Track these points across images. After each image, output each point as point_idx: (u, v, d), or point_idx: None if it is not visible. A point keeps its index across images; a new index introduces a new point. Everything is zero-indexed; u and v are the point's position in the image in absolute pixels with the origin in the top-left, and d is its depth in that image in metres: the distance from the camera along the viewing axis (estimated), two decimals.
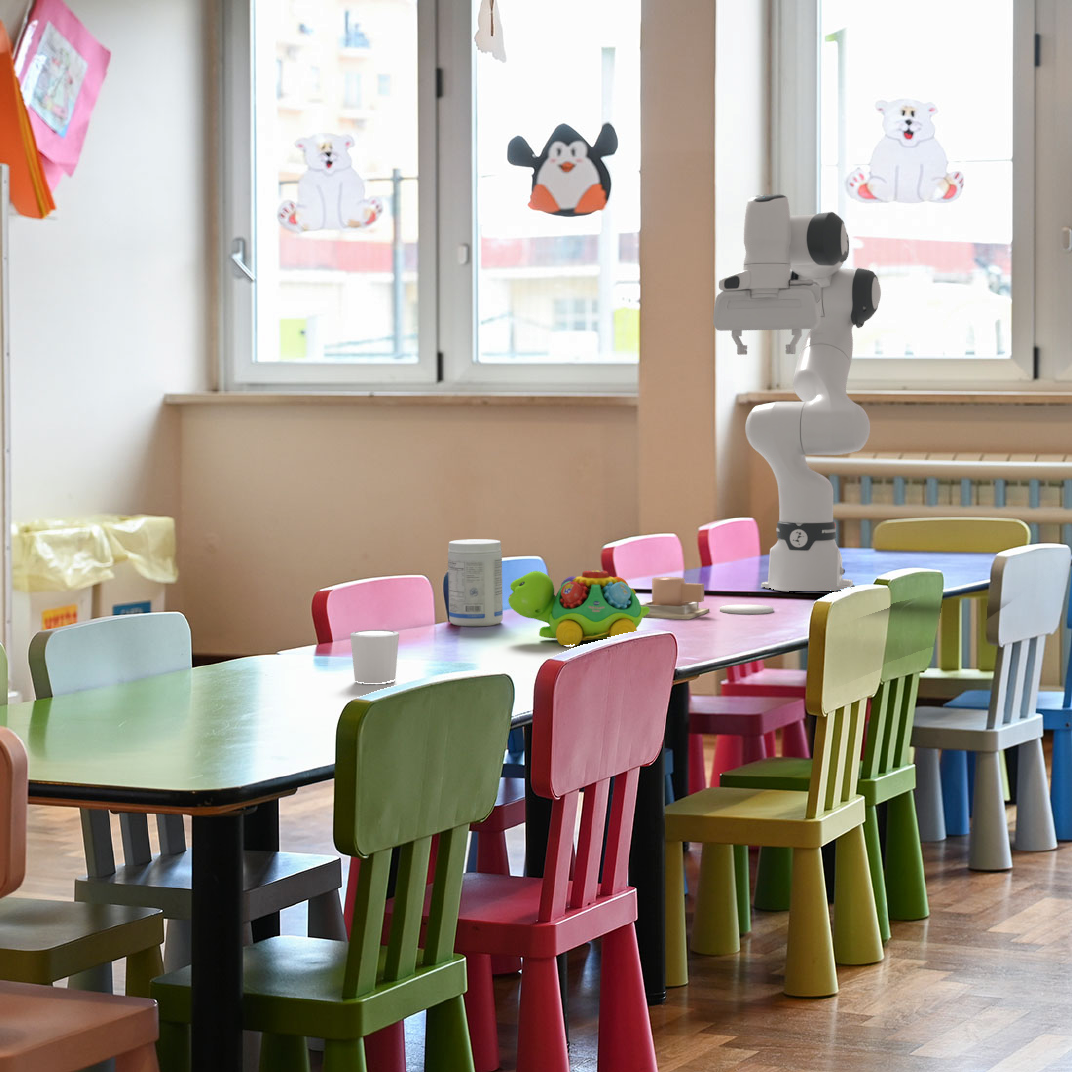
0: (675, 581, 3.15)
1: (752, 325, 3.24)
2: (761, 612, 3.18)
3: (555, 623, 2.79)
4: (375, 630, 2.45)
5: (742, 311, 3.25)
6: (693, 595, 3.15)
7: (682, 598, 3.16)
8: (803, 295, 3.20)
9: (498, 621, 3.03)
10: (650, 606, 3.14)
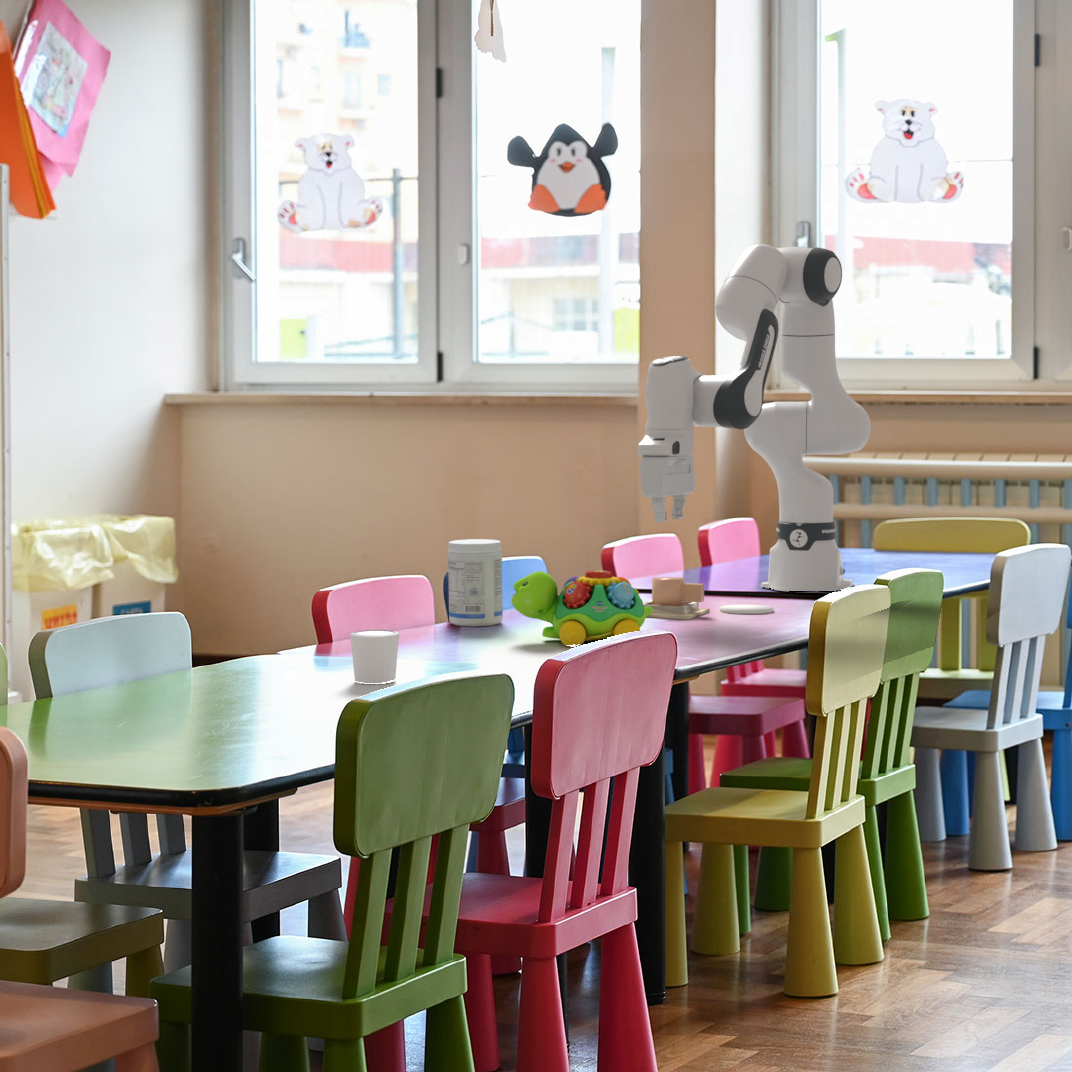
0: (675, 581, 3.15)
1: (674, 491, 3.13)
2: (761, 612, 3.18)
3: (559, 623, 2.79)
4: (375, 630, 2.45)
5: (670, 477, 3.11)
6: (693, 595, 3.15)
7: (682, 598, 3.16)
8: (691, 460, 3.22)
9: (498, 621, 3.03)
10: (650, 606, 3.14)
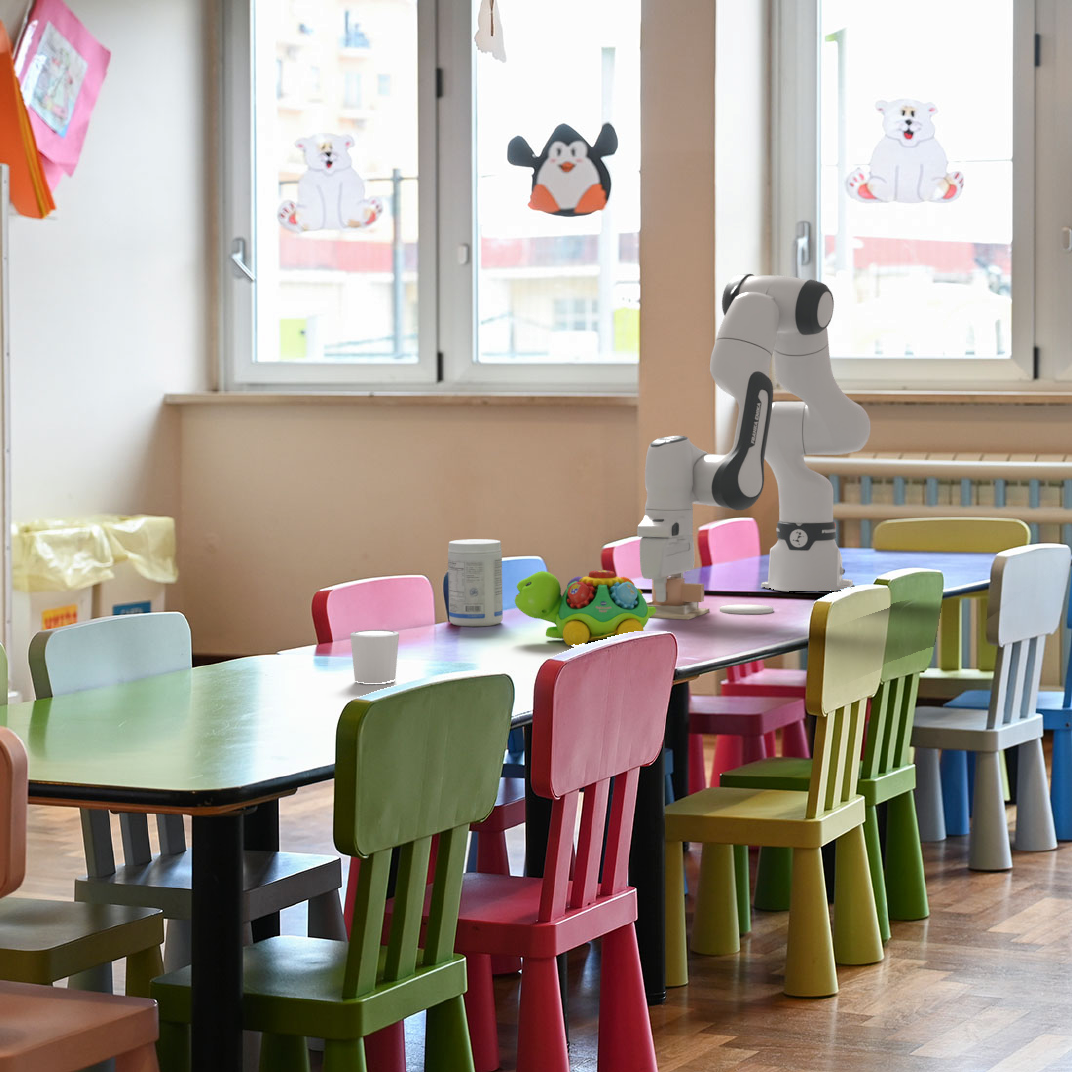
0: (675, 581, 3.15)
1: (673, 571, 3.14)
2: (761, 612, 3.18)
3: (562, 623, 2.79)
4: (375, 630, 2.45)
5: (670, 558, 3.12)
6: (693, 595, 3.15)
7: (682, 598, 3.16)
8: (691, 538, 3.23)
9: (498, 621, 3.03)
10: (650, 606, 3.14)
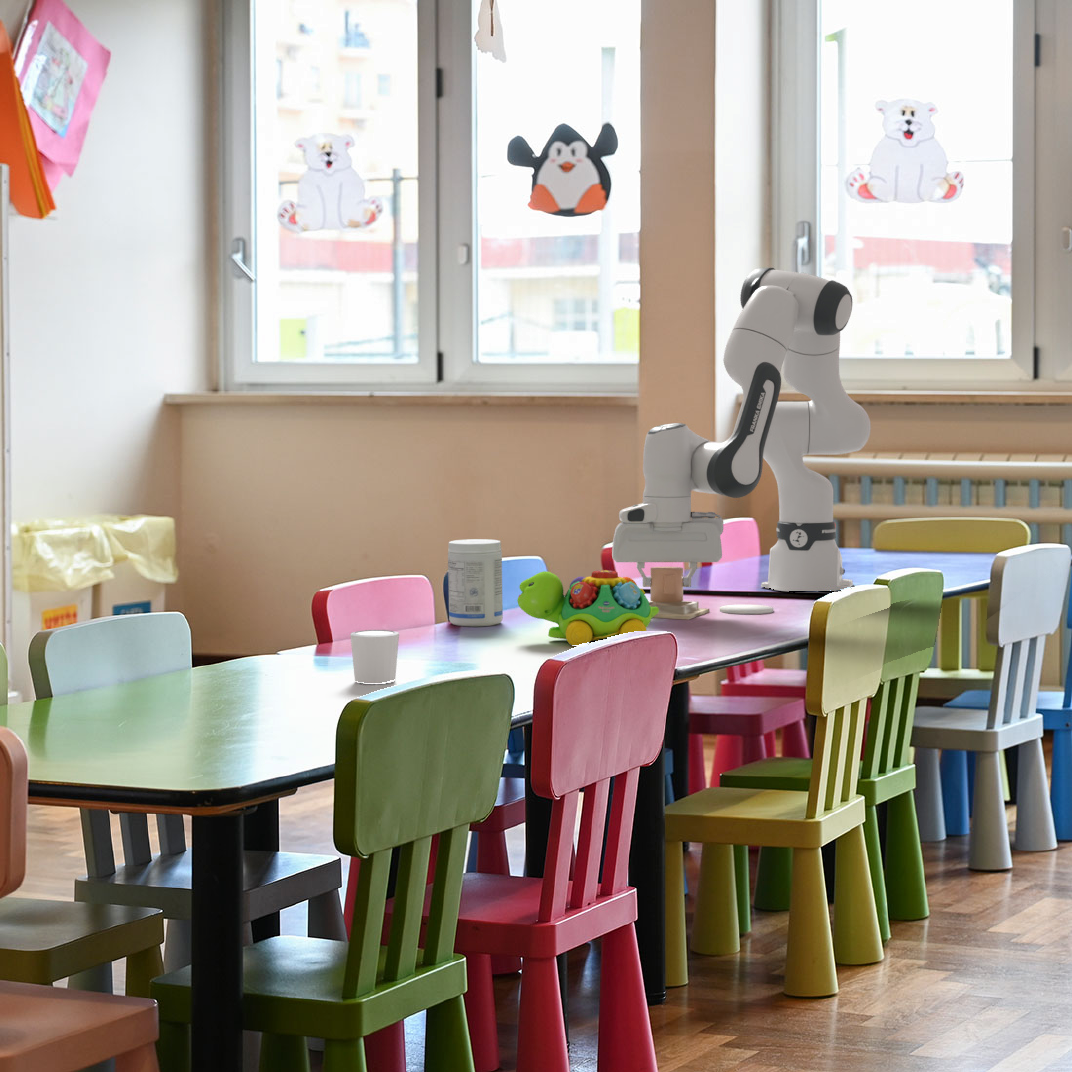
0: (656, 570, 3.15)
1: (655, 558, 3.15)
2: (761, 612, 3.18)
3: (565, 624, 2.78)
4: (375, 630, 2.45)
5: (644, 544, 3.15)
6: (664, 586, 3.12)
7: (663, 588, 3.14)
8: (709, 529, 3.15)
9: (498, 621, 3.03)
10: None
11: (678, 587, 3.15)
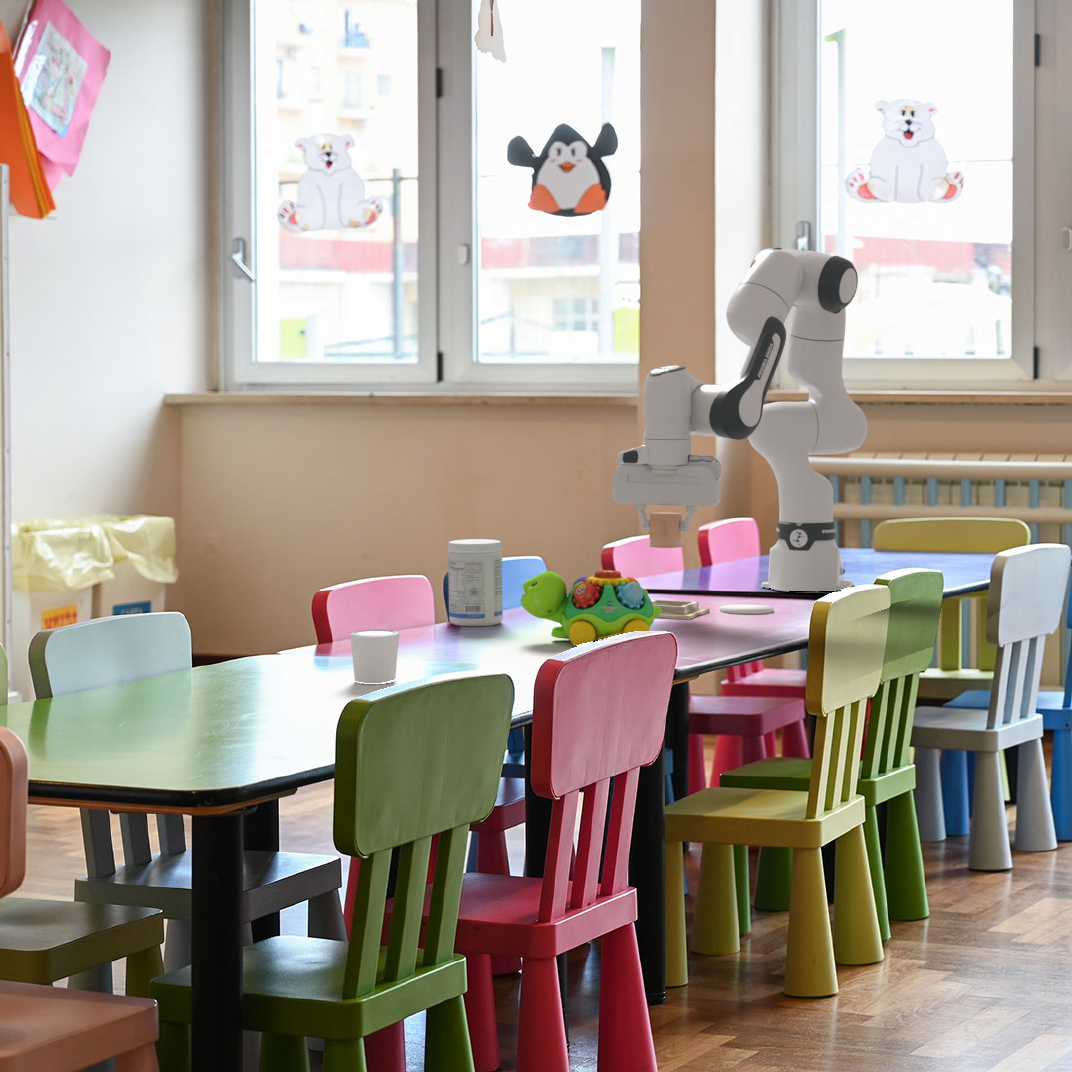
0: (651, 515, 3.16)
1: (651, 500, 3.16)
2: (761, 612, 3.18)
3: (568, 623, 2.79)
4: (375, 630, 2.45)
5: (641, 486, 3.17)
6: None
7: None
8: (702, 472, 3.11)
9: (498, 621, 3.03)
10: None
11: (671, 533, 3.14)
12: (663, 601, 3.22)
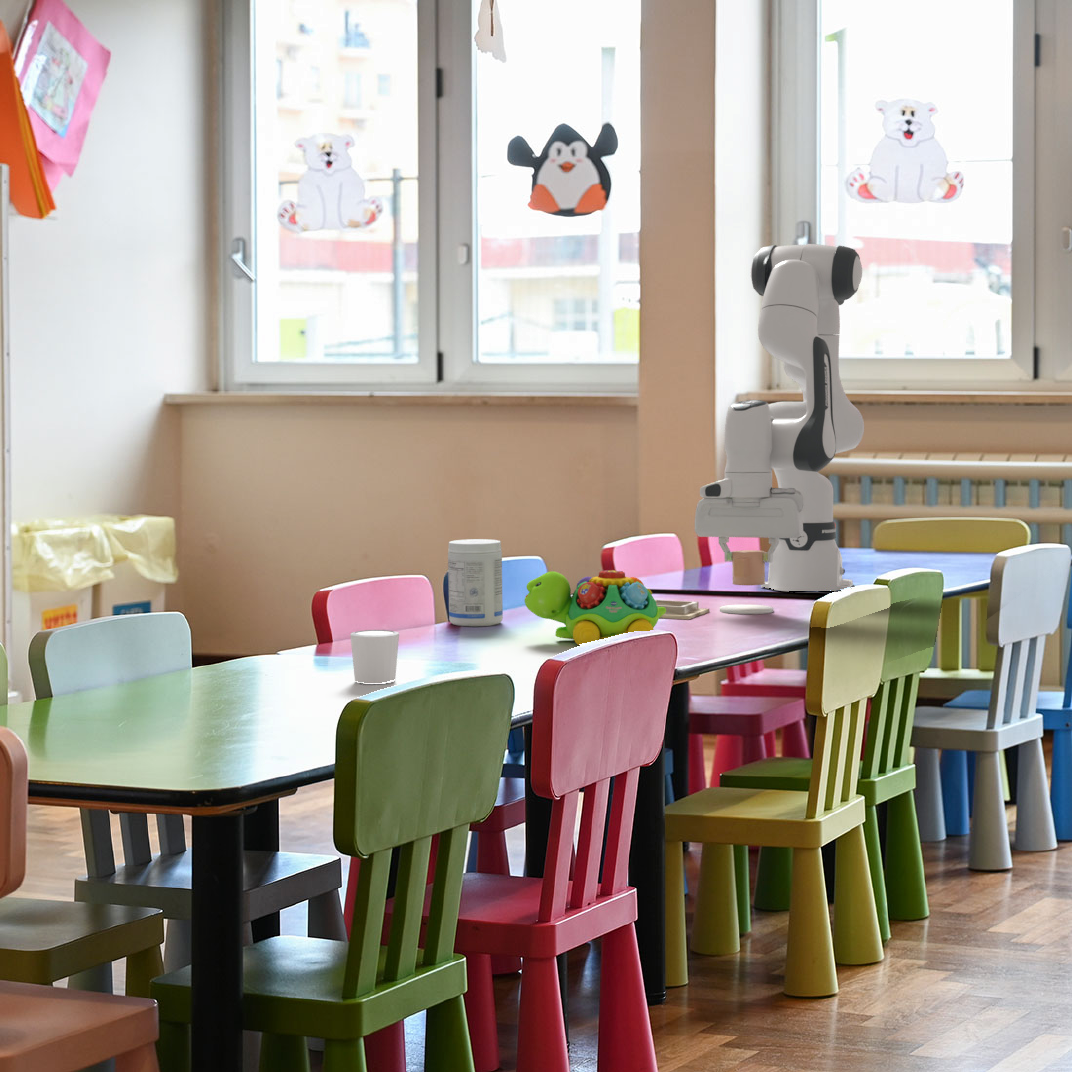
0: (734, 553, 3.20)
1: (734, 533, 3.20)
2: (761, 612, 3.18)
3: (572, 624, 2.78)
4: (375, 630, 2.45)
5: (724, 519, 3.21)
6: None
7: None
8: (786, 505, 3.16)
9: (498, 621, 3.03)
10: None
11: (755, 571, 3.18)
12: (663, 601, 3.22)
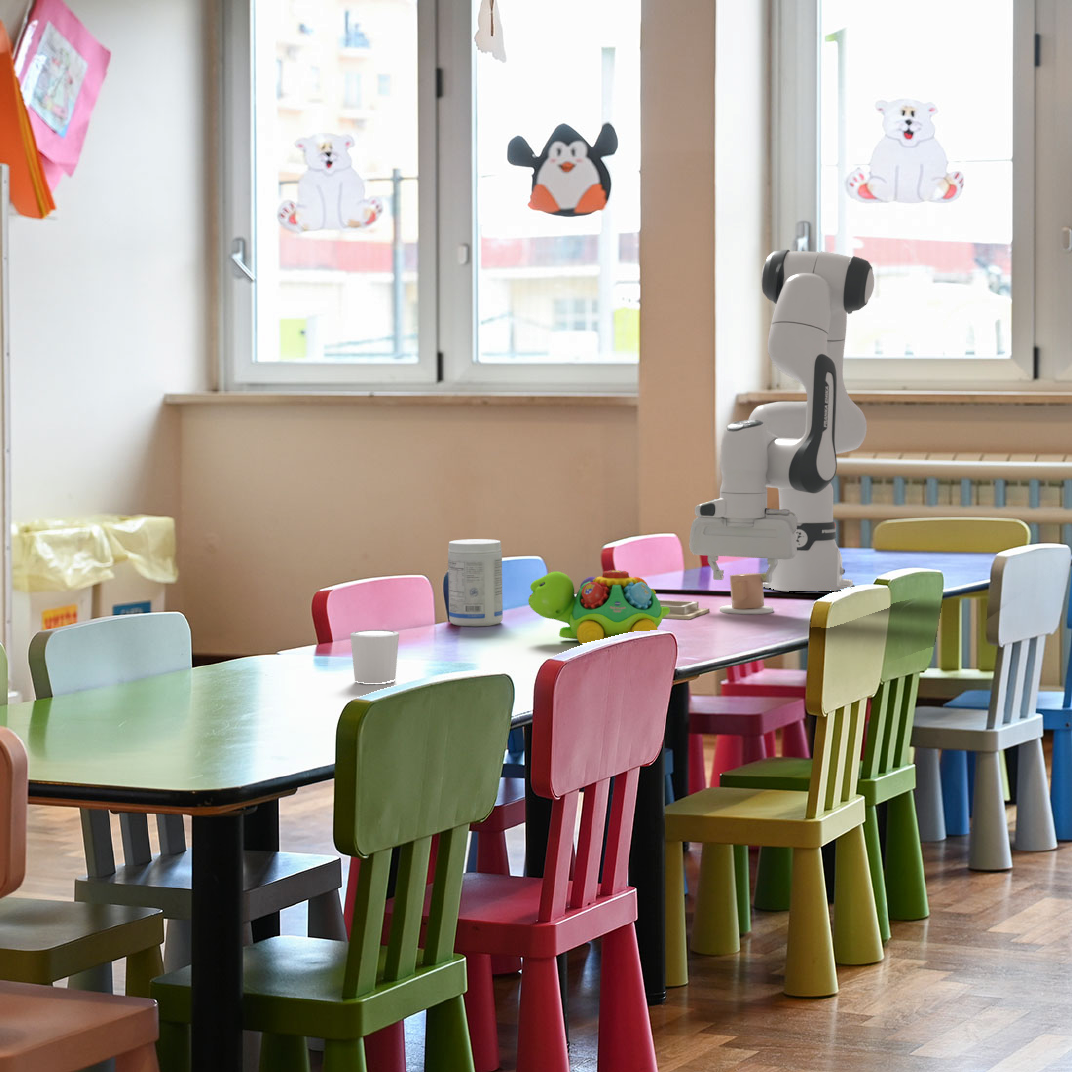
0: (732, 577, 3.20)
1: (728, 552, 3.21)
2: (761, 612, 3.18)
3: (576, 624, 2.78)
4: (375, 630, 2.45)
5: (718, 538, 3.22)
6: None
7: None
8: (779, 526, 3.17)
9: (498, 621, 3.03)
10: None
11: (753, 593, 3.19)
12: (663, 601, 3.22)
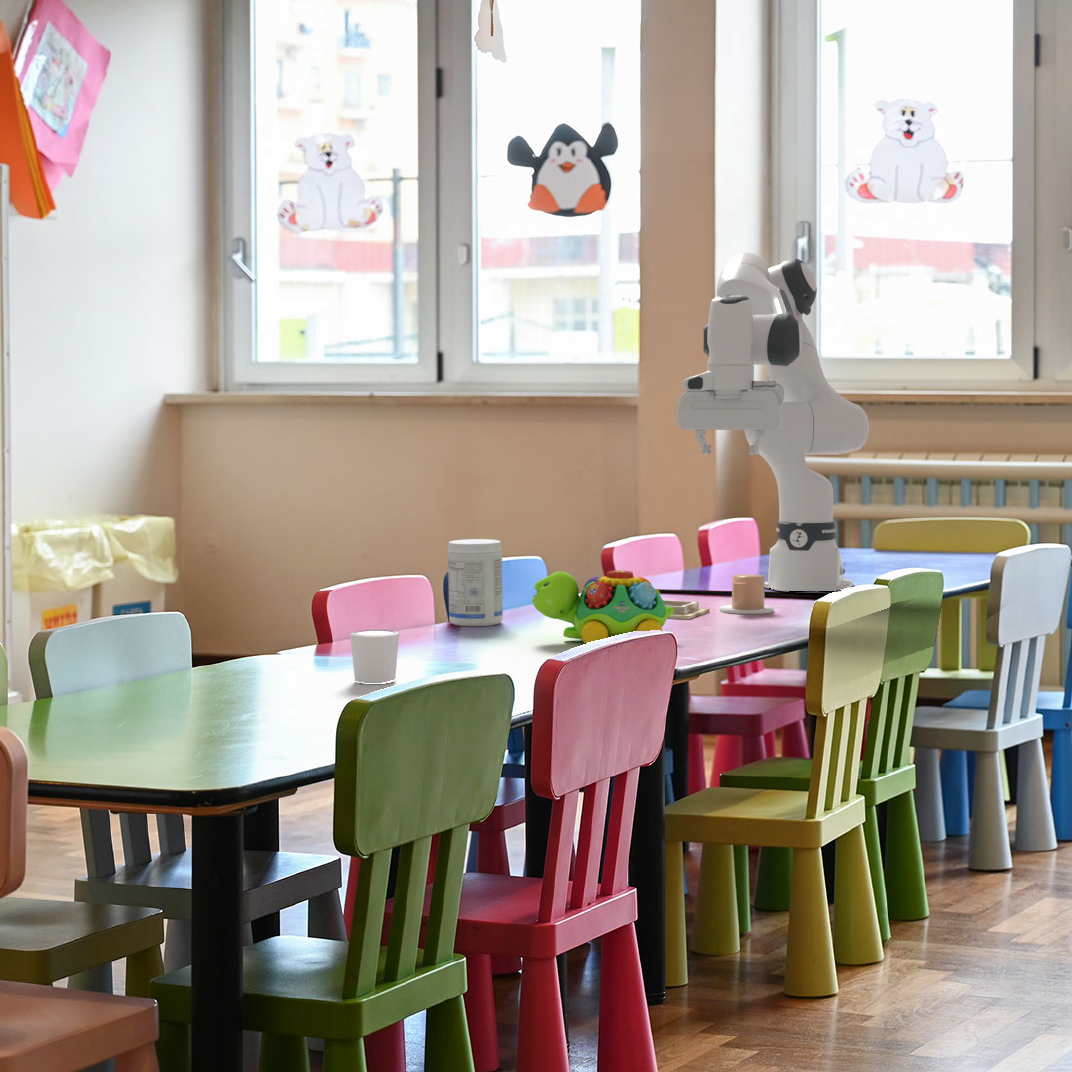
0: (734, 578, 3.20)
1: (715, 425, 3.25)
2: (761, 612, 3.18)
3: (580, 624, 2.78)
4: (375, 630, 2.45)
5: (706, 412, 3.26)
6: None
7: None
8: (766, 397, 3.21)
9: (498, 621, 3.03)
10: None
11: (754, 595, 3.19)
12: None
